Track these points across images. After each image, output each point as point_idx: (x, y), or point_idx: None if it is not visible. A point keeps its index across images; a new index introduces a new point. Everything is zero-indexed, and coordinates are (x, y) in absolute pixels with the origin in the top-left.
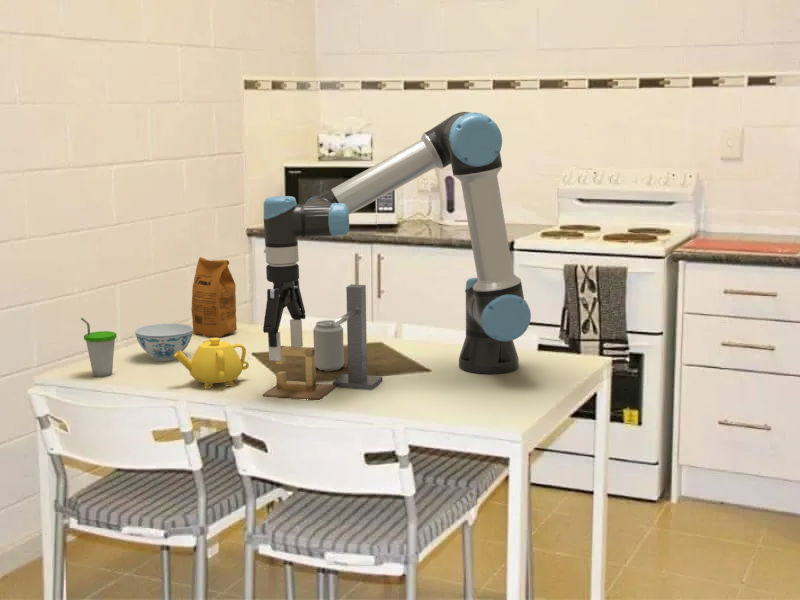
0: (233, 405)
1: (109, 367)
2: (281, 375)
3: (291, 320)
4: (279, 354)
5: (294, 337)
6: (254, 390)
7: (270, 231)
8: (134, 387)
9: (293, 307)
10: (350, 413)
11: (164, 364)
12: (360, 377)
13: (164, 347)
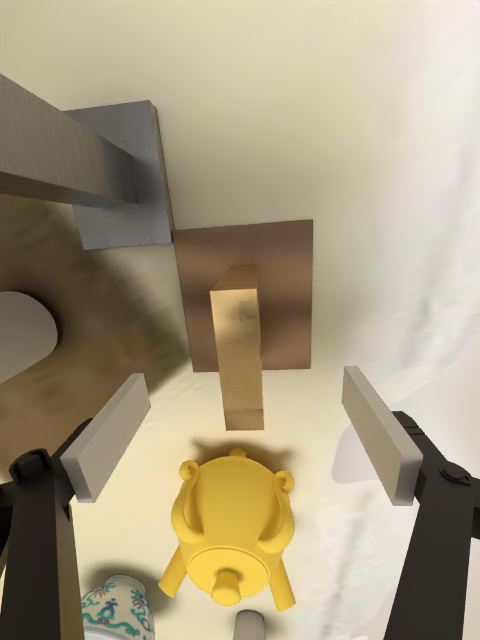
0: (387, 393)
1: (252, 629)
2: (261, 360)
3: (93, 494)
4: (367, 380)
5: (133, 418)
6: (263, 399)
7: None
8: (303, 567)
9: (66, 583)
10: (424, 55)
11: (161, 576)
12: (125, 157)
13: (145, 616)
